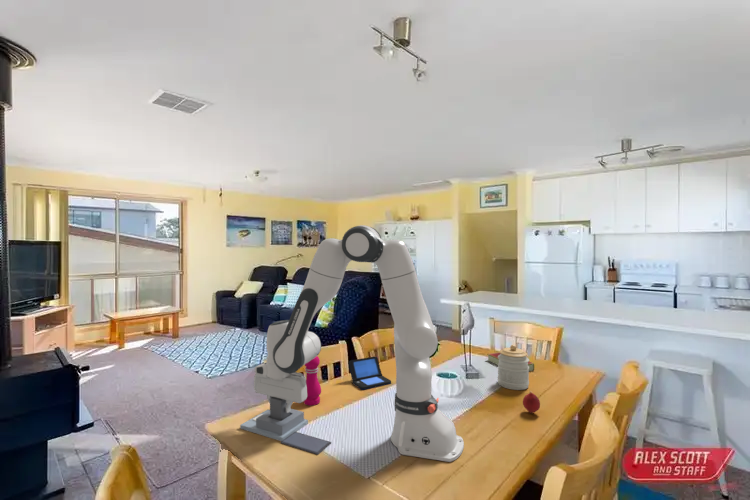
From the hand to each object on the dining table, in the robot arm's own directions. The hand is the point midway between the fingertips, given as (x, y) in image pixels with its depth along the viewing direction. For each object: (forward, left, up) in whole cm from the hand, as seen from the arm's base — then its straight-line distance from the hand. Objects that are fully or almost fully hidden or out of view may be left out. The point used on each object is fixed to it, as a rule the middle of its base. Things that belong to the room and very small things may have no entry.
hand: (280, 410), depth 123 cm
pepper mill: (+2, -21, -6) cm, 22 cm away
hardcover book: (-61, -104, -7) cm, 120 cm away
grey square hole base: (+2, 0, -6) cm, 6 cm away
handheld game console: (-8, -50, -6) cm, 51 cm away
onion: (-75, -50, -6) cm, 90 cm away
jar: (-66, -76, -6) cm, 101 cm away
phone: (-14, +4, -7) cm, 16 cm away
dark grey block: (0, 0, -3) cm, 3 cm away
